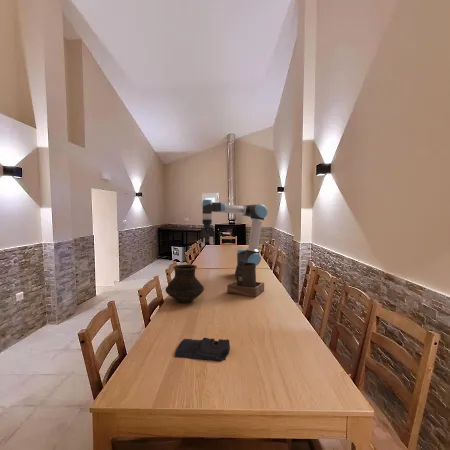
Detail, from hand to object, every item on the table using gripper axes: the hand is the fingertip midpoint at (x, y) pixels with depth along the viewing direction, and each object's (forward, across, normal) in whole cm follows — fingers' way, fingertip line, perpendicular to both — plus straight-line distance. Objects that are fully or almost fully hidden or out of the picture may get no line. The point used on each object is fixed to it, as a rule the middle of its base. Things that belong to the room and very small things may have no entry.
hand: (207, 245), depth 229 cm
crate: (+31, +10, +38) cm, 50 cm away
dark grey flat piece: (+31, +98, +55) cm, 117 cm away
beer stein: (+30, +11, +38) cm, 50 cm away
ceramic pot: (+31, +46, +10) cm, 56 cm away
